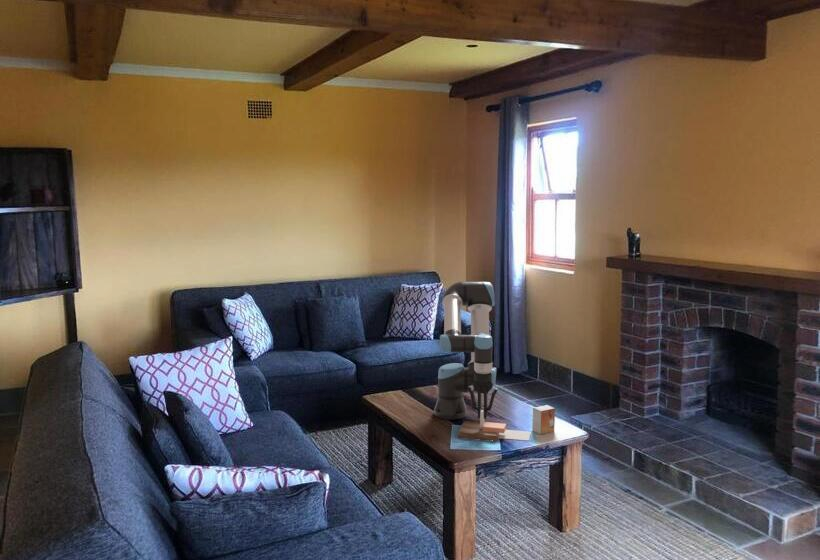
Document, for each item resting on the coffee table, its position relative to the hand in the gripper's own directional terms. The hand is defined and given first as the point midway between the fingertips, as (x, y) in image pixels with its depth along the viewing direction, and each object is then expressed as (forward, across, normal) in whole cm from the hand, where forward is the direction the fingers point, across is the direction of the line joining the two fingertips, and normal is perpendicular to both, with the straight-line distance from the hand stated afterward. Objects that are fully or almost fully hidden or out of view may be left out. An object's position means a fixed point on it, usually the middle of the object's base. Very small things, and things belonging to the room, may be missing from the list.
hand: (482, 425), depth 282 cm
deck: (+4, -1, 0) cm, 4 cm away
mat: (+4, +13, +3) cm, 14 cm away
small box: (+4, +25, +11) cm, 27 cm away
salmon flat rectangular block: (+1, +5, 0) cm, 5 cm away
